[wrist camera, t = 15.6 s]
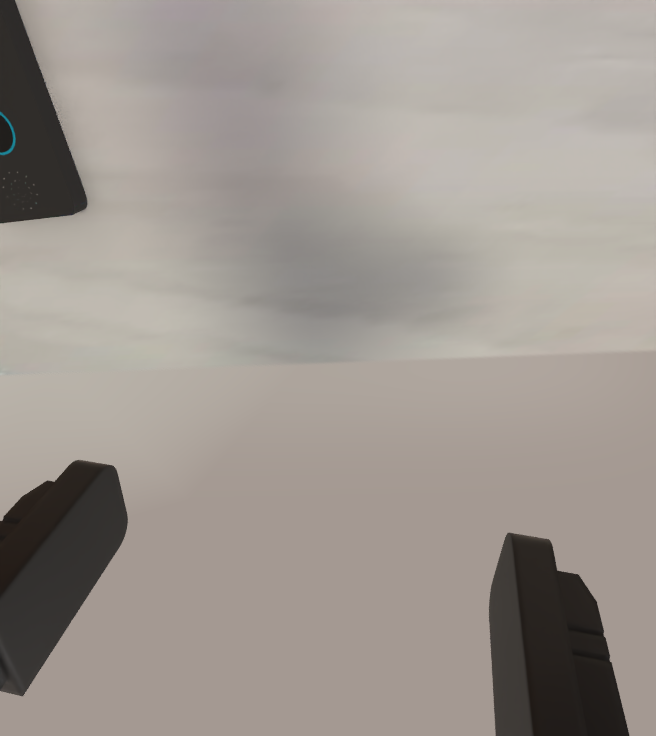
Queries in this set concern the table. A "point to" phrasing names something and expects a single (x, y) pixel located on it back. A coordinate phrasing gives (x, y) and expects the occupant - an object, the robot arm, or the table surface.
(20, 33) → the smart home device
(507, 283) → the table surface
